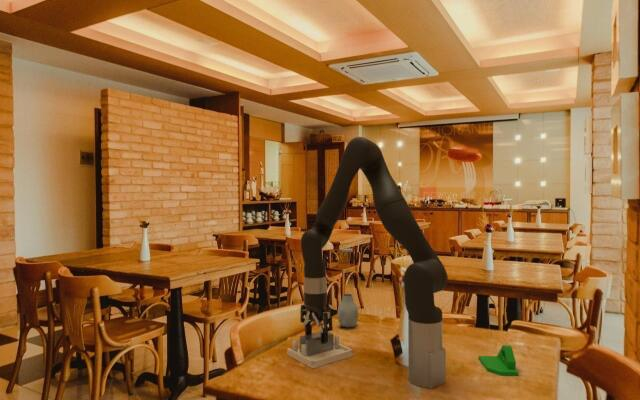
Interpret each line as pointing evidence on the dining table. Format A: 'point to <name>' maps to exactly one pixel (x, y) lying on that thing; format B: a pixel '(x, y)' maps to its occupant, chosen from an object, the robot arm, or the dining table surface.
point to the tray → (320, 354)
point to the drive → (316, 343)
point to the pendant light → (347, 306)
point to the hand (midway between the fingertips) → (316, 340)
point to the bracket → (500, 362)
